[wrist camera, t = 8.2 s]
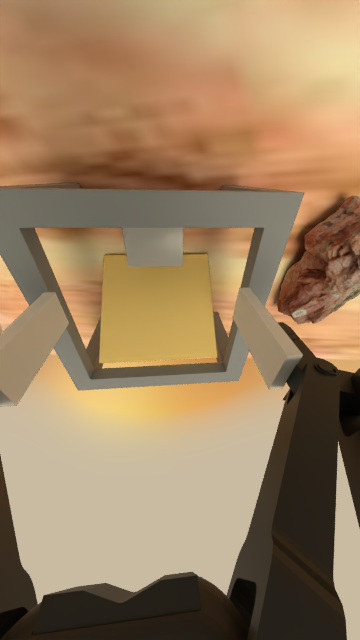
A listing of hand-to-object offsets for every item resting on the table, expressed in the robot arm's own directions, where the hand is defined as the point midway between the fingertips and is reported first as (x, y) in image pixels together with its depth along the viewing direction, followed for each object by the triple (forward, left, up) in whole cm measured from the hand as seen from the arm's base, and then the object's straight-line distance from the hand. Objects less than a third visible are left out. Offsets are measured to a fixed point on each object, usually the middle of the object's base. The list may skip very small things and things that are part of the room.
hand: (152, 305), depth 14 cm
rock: (+2, +24, -14) cm, 28 cm away
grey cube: (0, 0, -11) cm, 11 cm away
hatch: (+6, 0, -9) cm, 10 cm away
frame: (+3, 0, -14) cm, 15 cm away
